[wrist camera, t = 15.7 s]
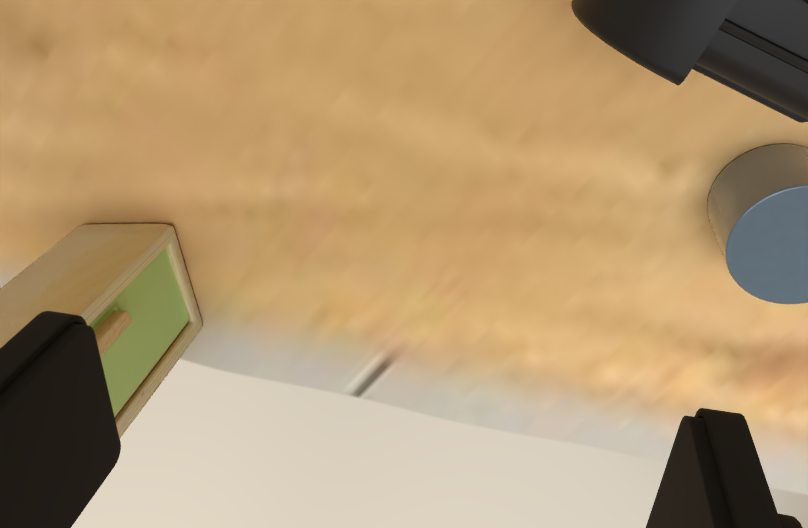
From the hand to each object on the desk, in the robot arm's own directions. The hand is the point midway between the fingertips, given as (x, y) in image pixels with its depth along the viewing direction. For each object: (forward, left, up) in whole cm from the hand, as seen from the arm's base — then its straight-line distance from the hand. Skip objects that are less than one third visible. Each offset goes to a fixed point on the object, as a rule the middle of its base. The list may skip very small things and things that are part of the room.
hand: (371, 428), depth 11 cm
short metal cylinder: (+14, -6, -27) cm, 31 cm away
